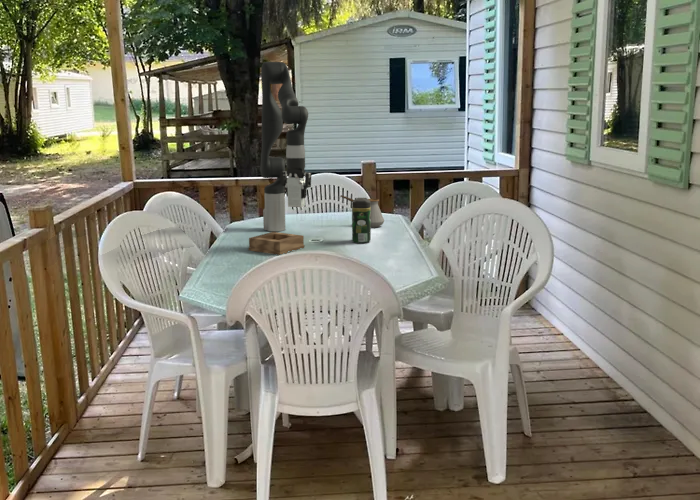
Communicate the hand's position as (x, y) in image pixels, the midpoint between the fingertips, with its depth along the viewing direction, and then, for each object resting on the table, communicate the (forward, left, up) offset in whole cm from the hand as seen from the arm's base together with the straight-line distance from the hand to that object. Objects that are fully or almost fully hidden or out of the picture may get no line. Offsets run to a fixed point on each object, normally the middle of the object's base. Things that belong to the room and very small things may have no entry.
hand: (296, 197), depth 280 cm
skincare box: (0, 0, -4) cm, 4 cm away
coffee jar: (+19, +20, -20) cm, 34 cm away
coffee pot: (+1, +50, -20) cm, 54 cm away
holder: (-2, -11, -20) cm, 23 cm away
